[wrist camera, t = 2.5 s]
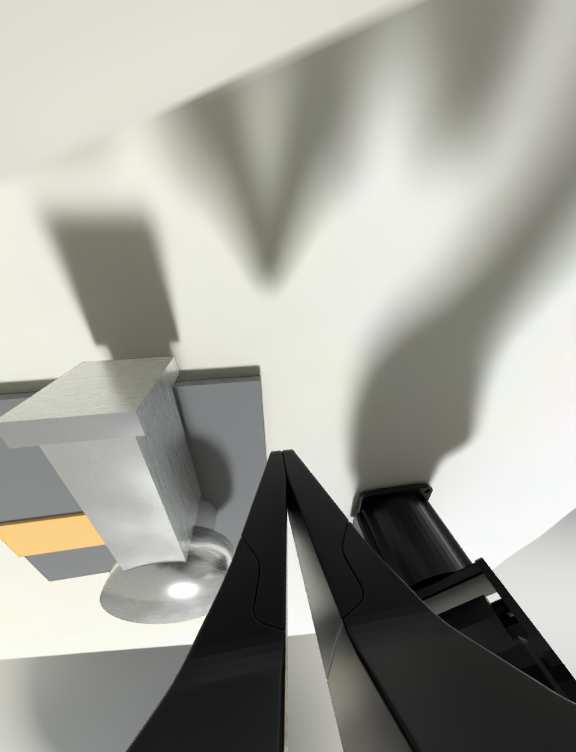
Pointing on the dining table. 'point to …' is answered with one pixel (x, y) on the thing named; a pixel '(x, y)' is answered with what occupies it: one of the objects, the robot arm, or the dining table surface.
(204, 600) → the elbow
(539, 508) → the dining table surface
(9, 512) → the base
